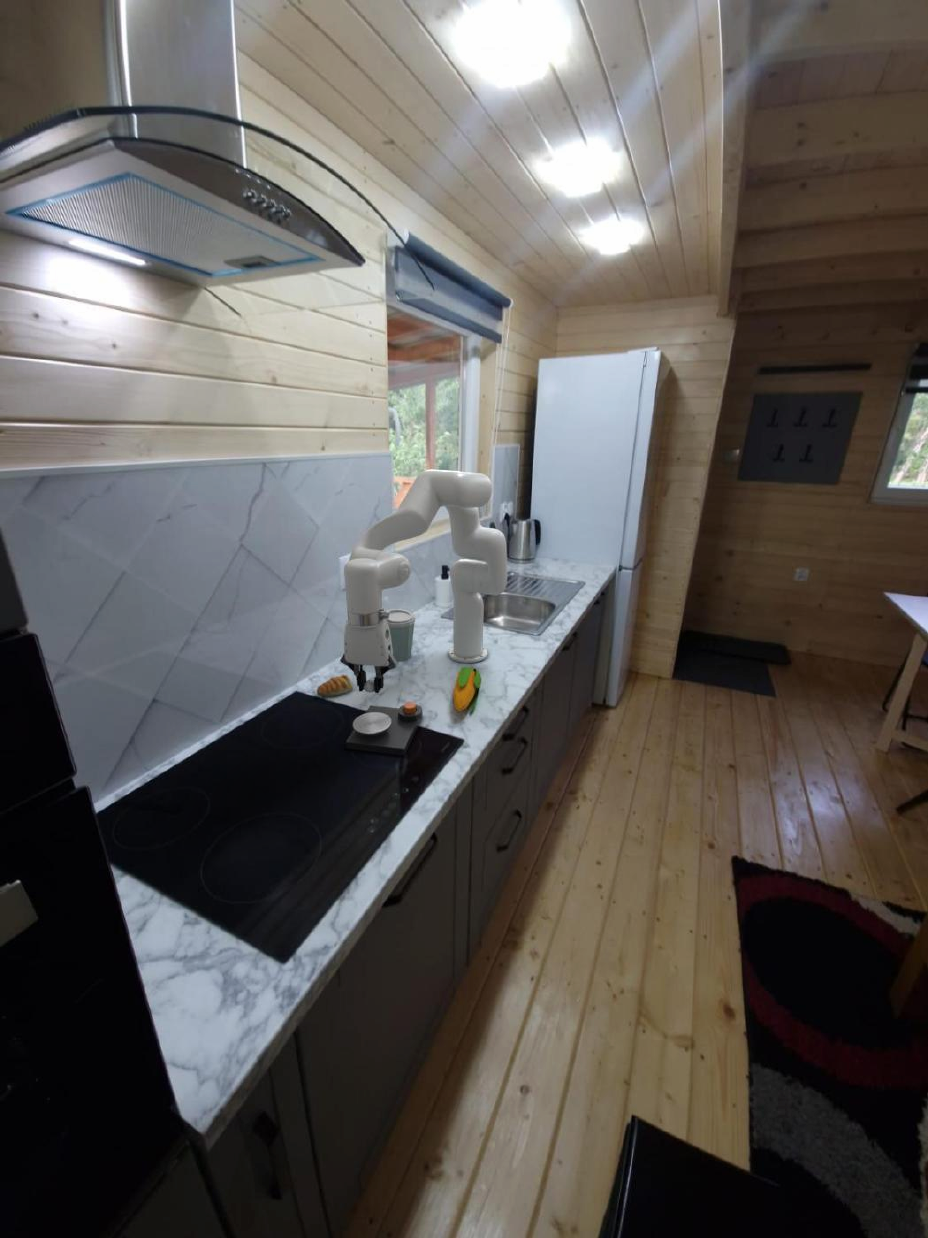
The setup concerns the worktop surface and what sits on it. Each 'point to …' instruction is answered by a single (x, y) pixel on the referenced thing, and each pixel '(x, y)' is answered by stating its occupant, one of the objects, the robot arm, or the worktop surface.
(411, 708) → the tare button
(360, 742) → the scale
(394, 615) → the disposable coffee cup
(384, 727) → the scale pan
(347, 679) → the pastry
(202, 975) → the worktop surface
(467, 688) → the corn
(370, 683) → the garlic
